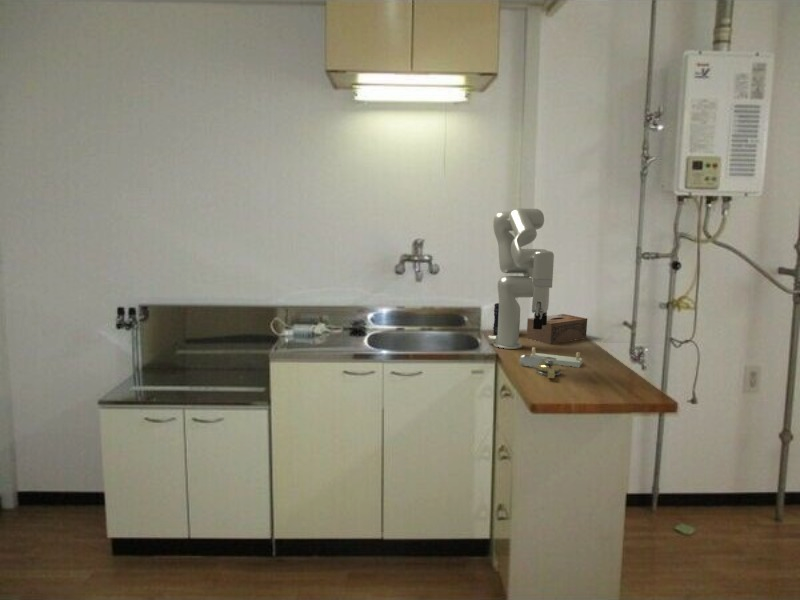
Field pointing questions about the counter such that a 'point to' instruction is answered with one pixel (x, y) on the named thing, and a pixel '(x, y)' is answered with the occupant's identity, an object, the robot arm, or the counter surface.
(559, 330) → the tissue box cover
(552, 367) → the gold handled disc
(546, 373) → the round gray base
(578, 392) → the counter surface
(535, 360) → the steel bar
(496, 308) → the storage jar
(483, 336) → the counter surface
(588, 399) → the counter surface
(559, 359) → the peg rest
